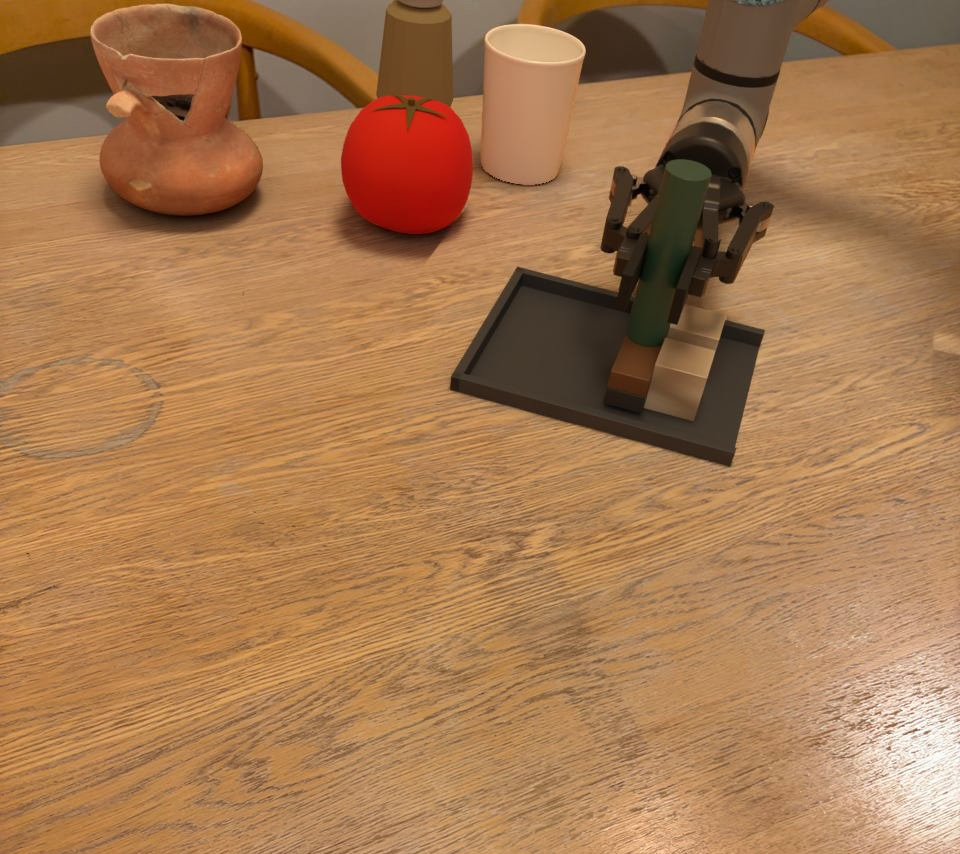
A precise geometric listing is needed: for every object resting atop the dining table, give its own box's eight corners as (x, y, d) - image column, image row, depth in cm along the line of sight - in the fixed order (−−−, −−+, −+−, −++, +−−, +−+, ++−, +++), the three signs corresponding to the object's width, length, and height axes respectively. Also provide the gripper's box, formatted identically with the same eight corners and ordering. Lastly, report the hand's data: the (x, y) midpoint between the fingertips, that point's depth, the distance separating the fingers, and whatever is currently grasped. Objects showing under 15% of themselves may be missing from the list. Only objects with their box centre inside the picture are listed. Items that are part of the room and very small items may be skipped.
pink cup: (457, 152, 108) (467, 27, 99) (537, 142, 112) (554, 20, 103) (500, 195, 103) (515, 66, 94) (583, 183, 106) (605, 58, 97)
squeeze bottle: (363, 138, 108) (366, -61, 95) (392, 110, 113) (398, -82, 100) (435, 156, 107) (447, -43, 93) (460, 127, 112) (476, -65, 99)
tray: (448, 402, 79) (450, 375, 77) (513, 291, 91) (517, 266, 89) (725, 478, 76) (735, 453, 75) (756, 354, 88) (765, 329, 86)
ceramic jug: (206, 254, 90) (187, 83, 79) (65, 211, 92) (28, 39, 82) (303, 174, 101) (298, 15, 91) (175, 138, 104) (155, -21, 93)
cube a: (713, 357, 85) (726, 314, 82) (705, 383, 82) (719, 339, 79) (666, 345, 85) (678, 301, 82) (657, 370, 83) (669, 326, 80)
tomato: (469, 196, 102) (480, 78, 94) (465, 263, 93) (477, 140, 85) (350, 183, 101) (350, 63, 93) (334, 250, 93) (333, 124, 84)
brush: (670, 335, 86) (724, 141, 74) (641, 414, 78) (696, 212, 66) (634, 325, 86) (681, 131, 74) (601, 403, 79) (649, 200, 67)
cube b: (702, 393, 81) (715, 350, 78) (693, 422, 79) (707, 378, 76) (653, 380, 82) (665, 336, 79) (643, 408, 79) (655, 364, 76)
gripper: (783, 231, 89) (747, 374, 74) (603, 187, 91) (532, 318, 76) (813, 143, 83) (780, 279, 68) (620, 99, 85) (547, 221, 70)
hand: (650, 299), depth 72 cm, fingers closed on brush, 3 cm apart
